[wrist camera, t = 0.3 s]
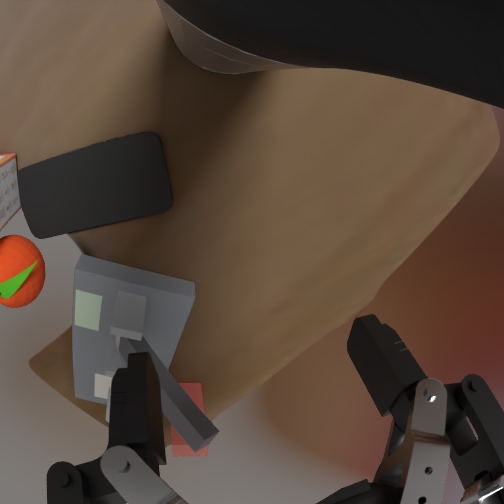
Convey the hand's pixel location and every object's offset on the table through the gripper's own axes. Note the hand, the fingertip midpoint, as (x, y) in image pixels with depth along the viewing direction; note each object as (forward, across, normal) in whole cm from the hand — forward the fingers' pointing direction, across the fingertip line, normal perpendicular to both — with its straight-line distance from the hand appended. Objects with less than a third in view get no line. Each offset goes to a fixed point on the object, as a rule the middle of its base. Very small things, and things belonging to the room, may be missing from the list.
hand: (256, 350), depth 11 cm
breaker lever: (+14, +10, +12) cm, 21 cm away
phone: (+19, +11, -1) cm, 22 cm away
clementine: (+19, +19, +4) cm, 27 cm away
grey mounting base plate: (+18, +12, +19) cm, 29 cm away
